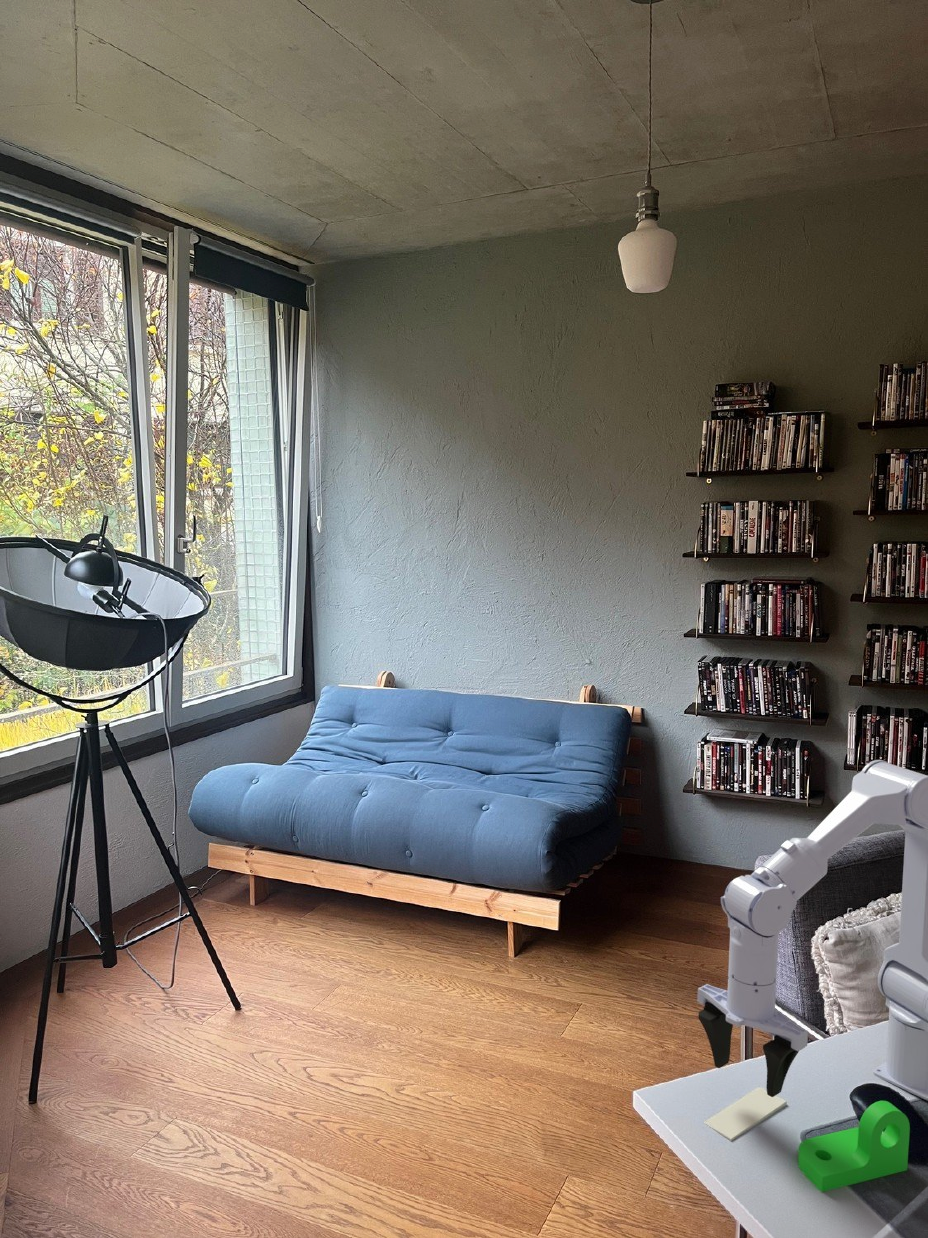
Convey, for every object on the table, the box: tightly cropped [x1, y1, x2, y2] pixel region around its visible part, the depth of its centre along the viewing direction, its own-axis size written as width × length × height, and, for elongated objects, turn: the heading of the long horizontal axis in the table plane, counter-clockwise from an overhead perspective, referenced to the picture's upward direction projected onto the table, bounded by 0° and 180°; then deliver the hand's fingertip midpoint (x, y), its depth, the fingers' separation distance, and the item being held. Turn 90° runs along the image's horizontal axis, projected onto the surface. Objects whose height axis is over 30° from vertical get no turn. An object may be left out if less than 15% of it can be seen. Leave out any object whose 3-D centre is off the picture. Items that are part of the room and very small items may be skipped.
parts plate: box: [703, 1086, 788, 1142], centre depth 118 cm, size 12×4×1 cm, turn 129°
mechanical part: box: [797, 1100, 911, 1193], centre depth 110 cm, size 12×6×8 cm, turn 109°
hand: (747, 1078), depth 118 cm, fingers open, 7 cm apart
